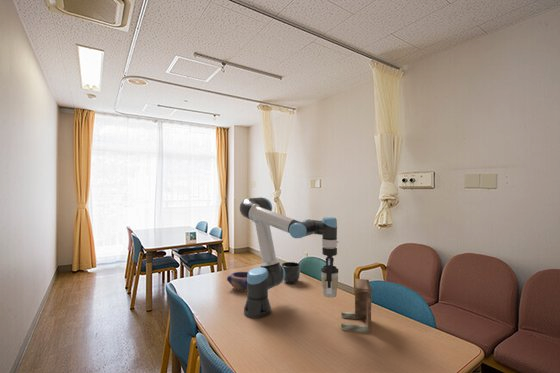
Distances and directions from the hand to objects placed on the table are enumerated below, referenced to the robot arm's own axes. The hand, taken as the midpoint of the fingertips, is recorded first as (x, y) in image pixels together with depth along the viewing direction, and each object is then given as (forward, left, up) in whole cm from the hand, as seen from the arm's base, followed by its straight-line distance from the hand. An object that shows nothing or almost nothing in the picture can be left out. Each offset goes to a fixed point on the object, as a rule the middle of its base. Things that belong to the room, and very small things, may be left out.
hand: (329, 290), depth 146 cm
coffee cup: (0, 0, -3) cm, 3 cm away
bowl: (-61, +35, -16) cm, 72 cm away
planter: (-31, +55, -16) cm, 65 cm away
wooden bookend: (+12, 0, -16) cm, 20 cm away
